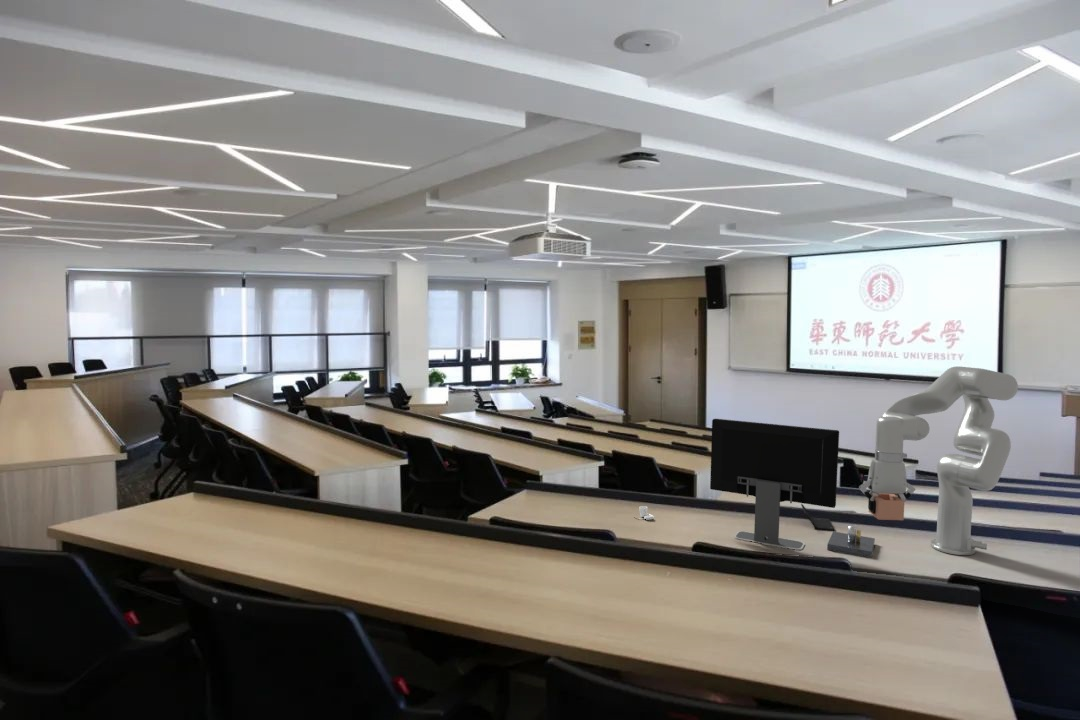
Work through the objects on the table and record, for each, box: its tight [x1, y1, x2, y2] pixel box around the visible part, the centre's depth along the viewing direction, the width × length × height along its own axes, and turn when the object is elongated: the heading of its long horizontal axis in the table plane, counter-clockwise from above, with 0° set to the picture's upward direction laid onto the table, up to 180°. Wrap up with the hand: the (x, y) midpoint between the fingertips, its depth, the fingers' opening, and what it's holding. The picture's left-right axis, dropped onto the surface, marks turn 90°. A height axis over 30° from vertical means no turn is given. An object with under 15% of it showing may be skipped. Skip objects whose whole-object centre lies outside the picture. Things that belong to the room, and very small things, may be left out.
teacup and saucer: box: [638, 505, 655, 521], centre depth 250 cm, size 9×8×4 cm
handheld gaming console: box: [800, 503, 836, 532], centre depth 243 cm, size 13×8×11 cm
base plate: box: [826, 524, 876, 558], centre depth 221 cm, size 13×14×7 cm
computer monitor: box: [709, 418, 840, 551], centre depth 225 cm, size 41×8×40 cm, turn 59°
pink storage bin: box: [868, 494, 906, 521], centre depth 206 cm, size 7×7×6 cm
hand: (885, 512), depth 206 cm, fingers closed on pink storage bin, 7 cm apart
